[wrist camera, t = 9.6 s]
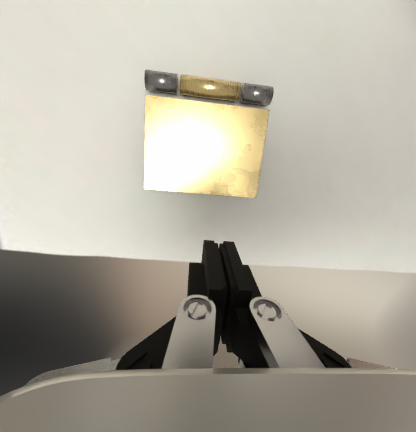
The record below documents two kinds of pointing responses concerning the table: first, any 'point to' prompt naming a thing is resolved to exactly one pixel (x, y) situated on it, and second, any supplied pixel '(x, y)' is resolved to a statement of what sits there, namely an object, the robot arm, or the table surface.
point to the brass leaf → (203, 141)
